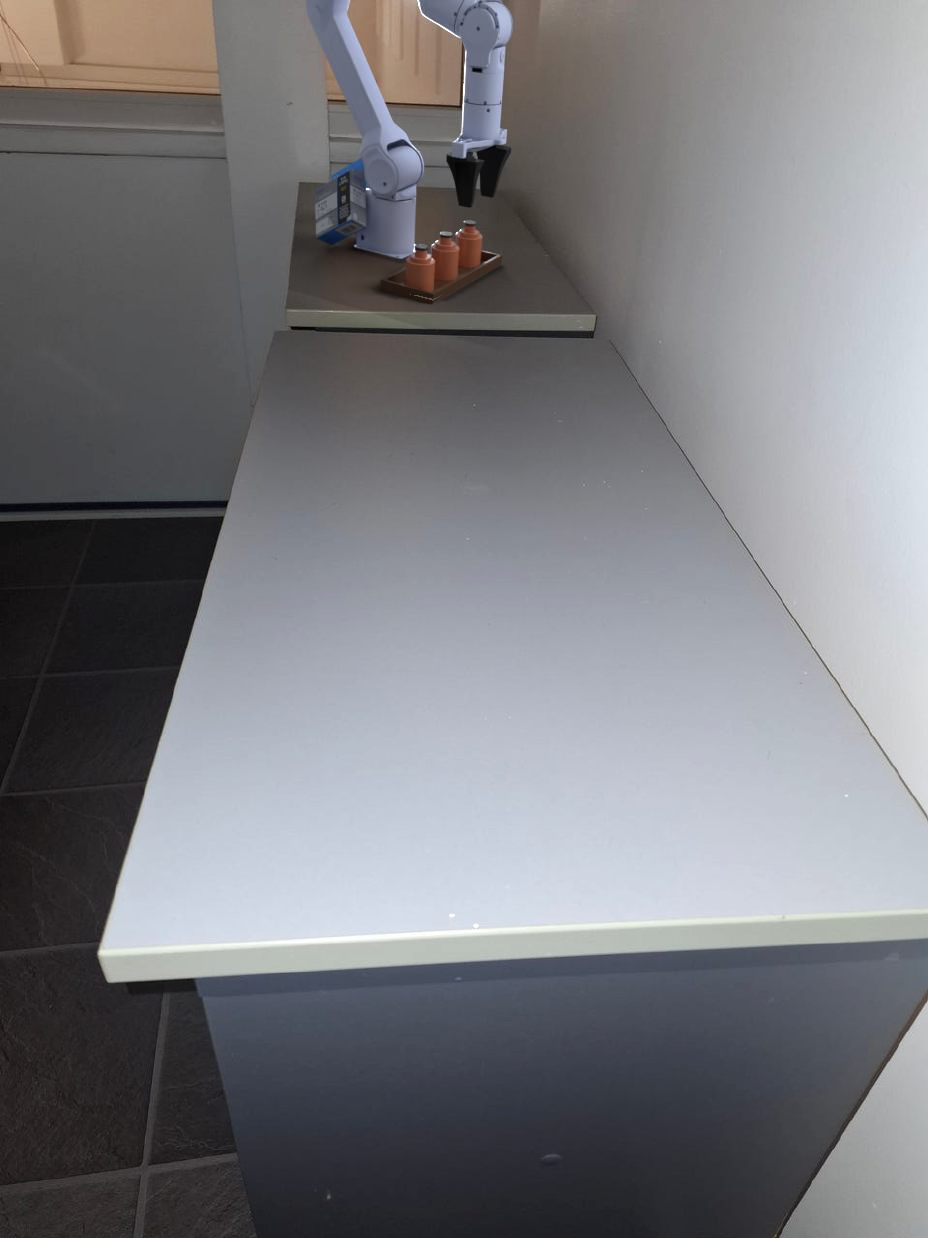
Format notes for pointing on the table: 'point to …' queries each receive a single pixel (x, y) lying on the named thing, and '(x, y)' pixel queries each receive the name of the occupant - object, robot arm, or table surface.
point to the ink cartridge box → (341, 204)
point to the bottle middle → (445, 257)
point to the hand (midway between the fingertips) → (476, 201)
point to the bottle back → (469, 245)
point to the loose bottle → (420, 269)
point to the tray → (444, 288)
